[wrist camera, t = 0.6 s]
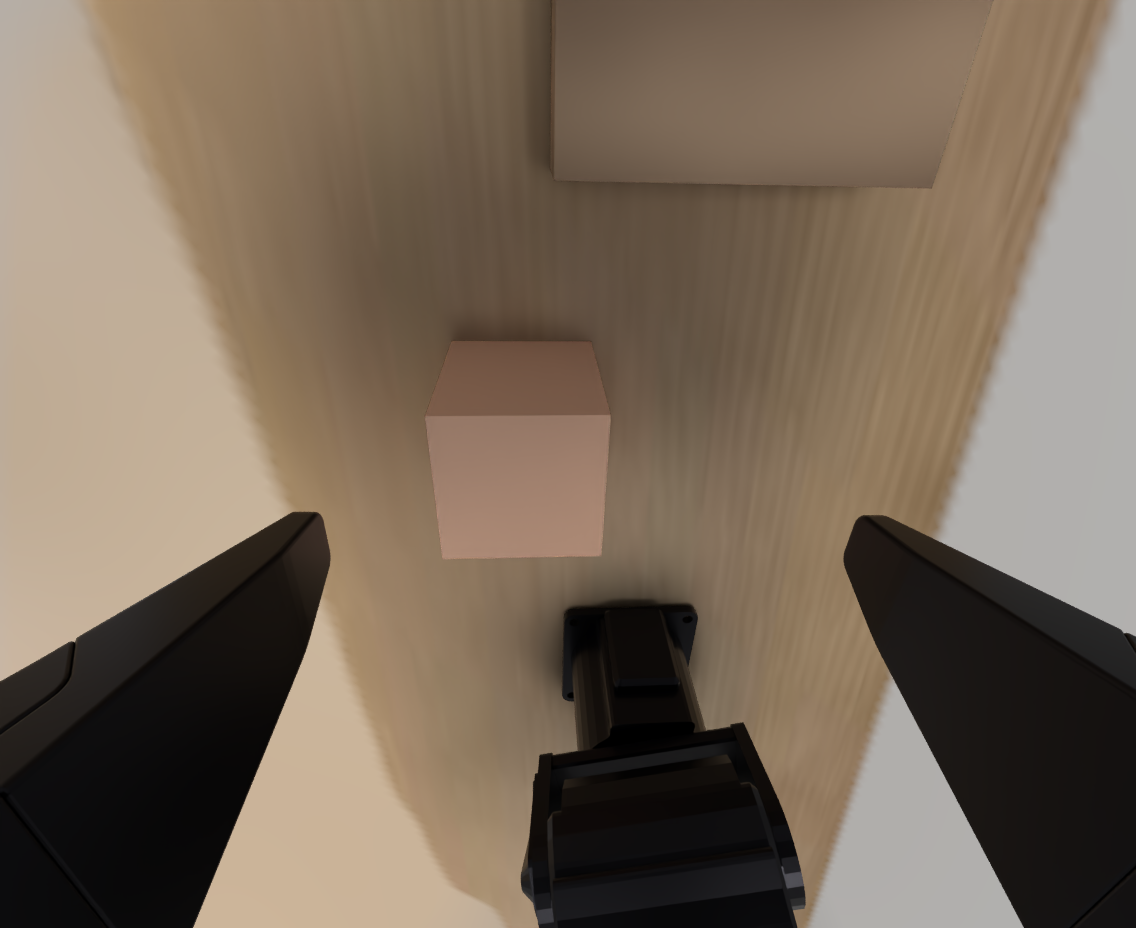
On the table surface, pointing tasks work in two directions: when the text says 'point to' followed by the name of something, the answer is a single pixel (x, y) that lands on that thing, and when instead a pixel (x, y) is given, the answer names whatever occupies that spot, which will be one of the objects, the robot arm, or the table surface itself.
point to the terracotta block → (519, 450)
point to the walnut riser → (758, 90)
